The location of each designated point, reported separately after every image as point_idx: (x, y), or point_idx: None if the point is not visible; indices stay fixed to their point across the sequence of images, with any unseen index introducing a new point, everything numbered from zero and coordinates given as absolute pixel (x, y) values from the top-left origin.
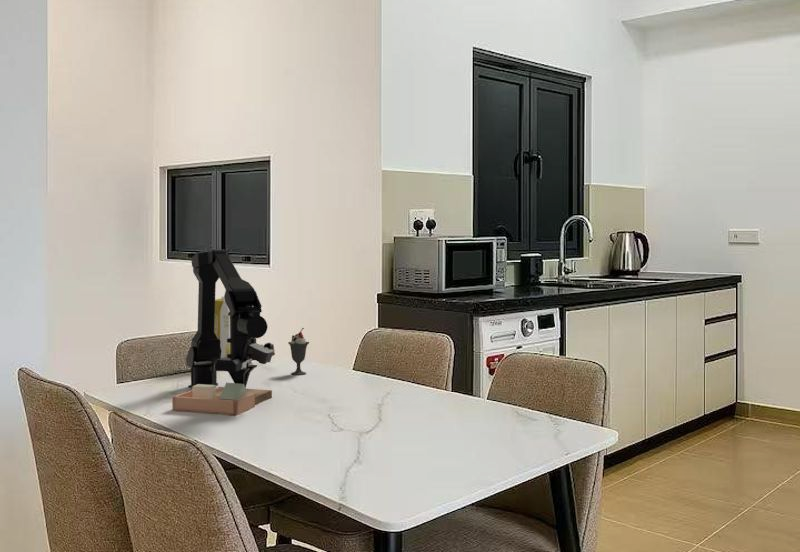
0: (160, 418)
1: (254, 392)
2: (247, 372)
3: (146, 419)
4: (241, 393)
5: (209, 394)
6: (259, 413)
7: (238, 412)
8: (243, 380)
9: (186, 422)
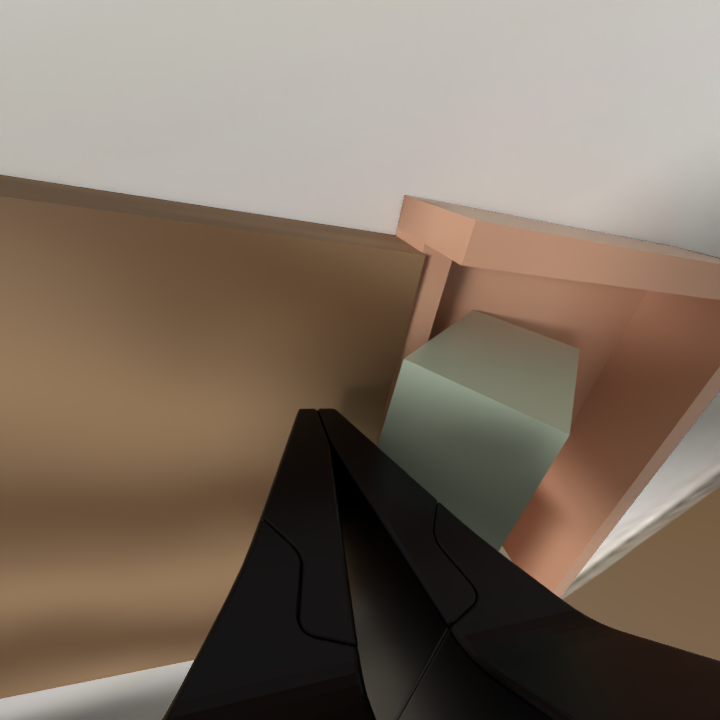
0: (614, 529)
1: (18, 366)
2: (366, 699)
3: (615, 551)
4: (529, 363)
5: (503, 554)
6: (671, 47)
7: (663, 245)
8: (443, 517)
9: (716, 422)
